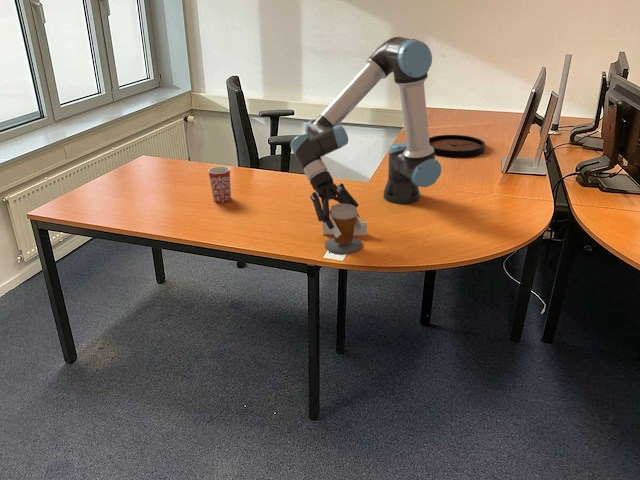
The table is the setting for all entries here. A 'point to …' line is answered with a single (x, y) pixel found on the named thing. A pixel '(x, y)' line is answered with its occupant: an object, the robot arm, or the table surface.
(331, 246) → the rubber pad
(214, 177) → the mug
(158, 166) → the table surface
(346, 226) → the disposable coffee cup
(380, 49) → the robot arm
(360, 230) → the low wall
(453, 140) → the wall clock
